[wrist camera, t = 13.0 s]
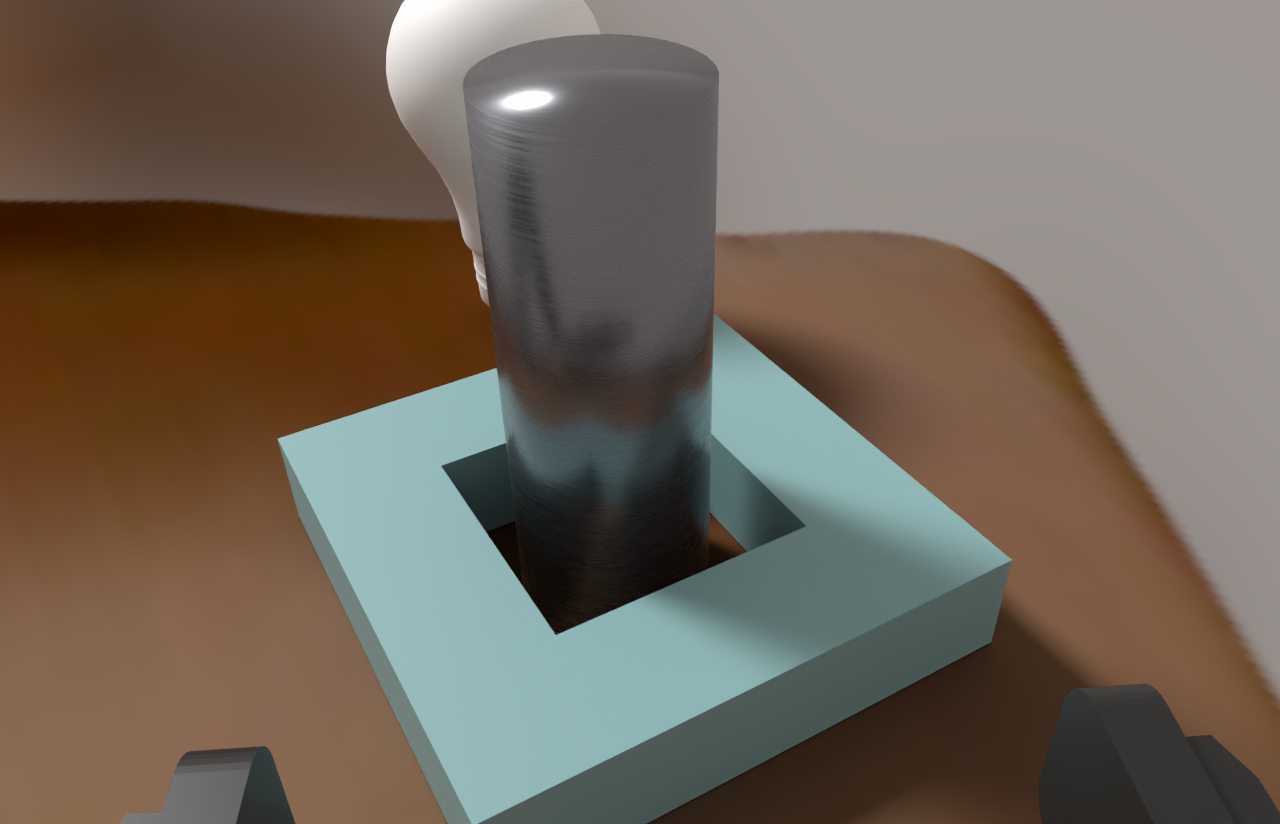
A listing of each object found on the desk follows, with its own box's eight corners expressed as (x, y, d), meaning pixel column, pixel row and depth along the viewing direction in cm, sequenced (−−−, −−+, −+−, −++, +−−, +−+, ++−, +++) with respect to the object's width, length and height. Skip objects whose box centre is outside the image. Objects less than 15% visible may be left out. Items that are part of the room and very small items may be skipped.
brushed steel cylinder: (577, 673, 24) (532, 147, 17) (492, 551, 27) (424, 63, 20) (745, 594, 26) (770, 88, 18) (647, 489, 29) (636, 19, 21)
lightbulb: (652, 324, 35) (647, -39, 28) (479, 389, 32) (428, 5, 26) (556, 249, 39) (531, -84, 32) (396, 300, 36) (333, -50, 30)
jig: (488, 906, 20) (473, 825, 18) (299, 516, 28) (277, 439, 26) (991, 642, 24) (1012, 559, 23) (699, 374, 33) (700, 302, 31)
